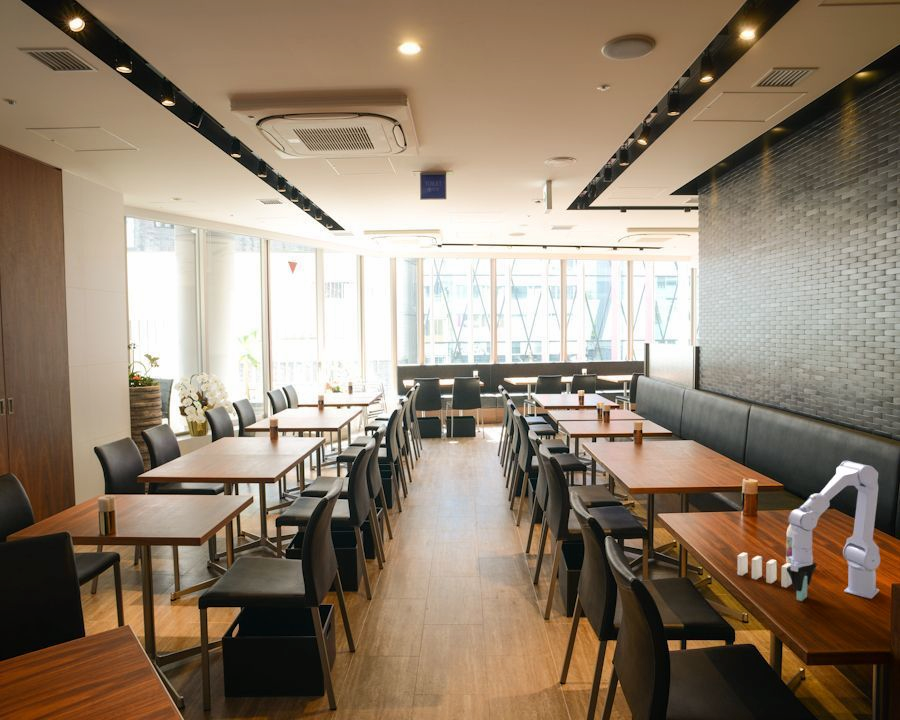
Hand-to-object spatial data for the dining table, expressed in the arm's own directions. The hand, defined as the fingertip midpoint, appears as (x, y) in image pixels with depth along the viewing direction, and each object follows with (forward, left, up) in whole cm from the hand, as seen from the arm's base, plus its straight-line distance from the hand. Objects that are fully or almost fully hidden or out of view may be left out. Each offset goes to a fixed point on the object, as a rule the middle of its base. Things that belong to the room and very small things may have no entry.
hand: (801, 587), depth 204 cm
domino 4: (-8, -7, -4) cm, 12 cm away
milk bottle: (-32, -12, -4) cm, 34 cm away
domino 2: (-8, -17, -4) cm, 20 cm away
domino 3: (-8, -12, -4) cm, 15 cm away
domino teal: (0, 0, -4) cm, 4 cm away
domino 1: (-8, -22, -4) cm, 24 cm away
